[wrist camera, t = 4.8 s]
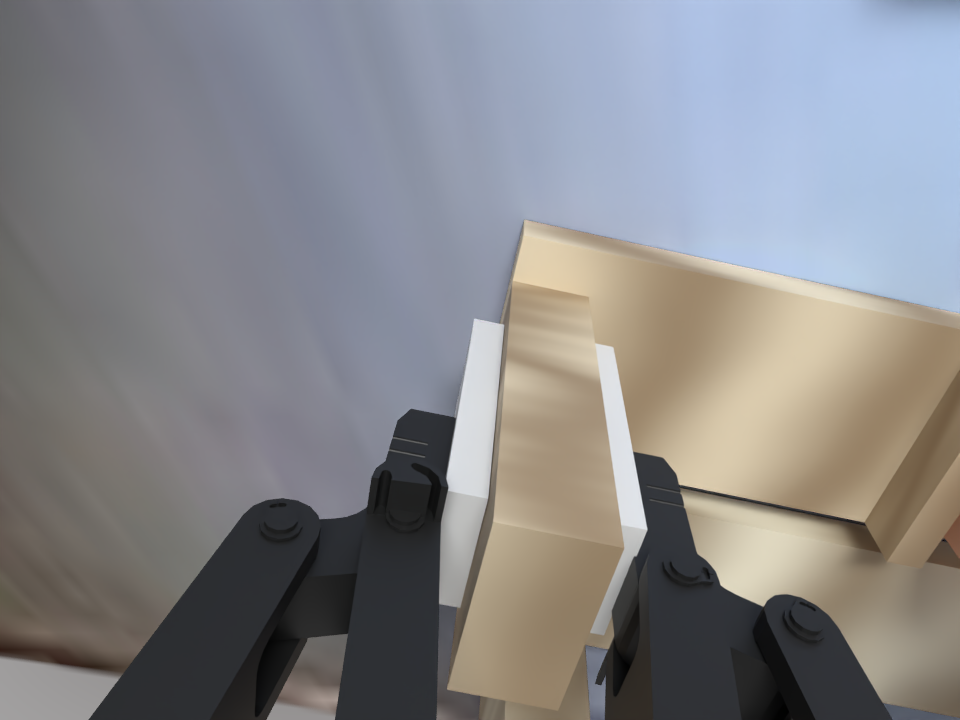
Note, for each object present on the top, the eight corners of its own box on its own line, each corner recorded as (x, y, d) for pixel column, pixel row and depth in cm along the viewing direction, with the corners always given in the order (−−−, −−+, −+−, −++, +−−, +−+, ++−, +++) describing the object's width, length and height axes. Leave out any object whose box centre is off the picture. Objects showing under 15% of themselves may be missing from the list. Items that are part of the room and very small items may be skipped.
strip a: (476, 419, 22) (435, 731, 13) (524, 219, 19) (511, 456, 10) (1095, 546, 23) (1446, 923, 14) (1242, 374, 20) (1819, 722, 11)
